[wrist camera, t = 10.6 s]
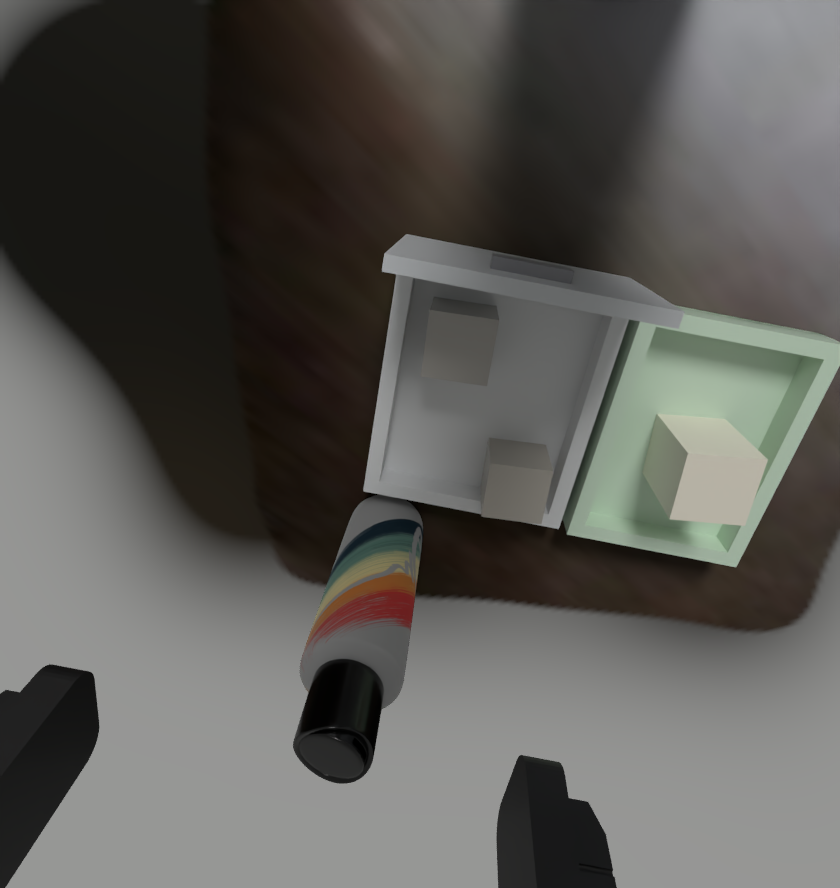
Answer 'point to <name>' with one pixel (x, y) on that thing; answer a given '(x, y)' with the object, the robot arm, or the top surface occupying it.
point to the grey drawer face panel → (529, 279)
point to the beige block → (702, 469)
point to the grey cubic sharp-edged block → (460, 341)
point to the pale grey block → (515, 481)
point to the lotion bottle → (359, 639)
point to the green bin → (700, 395)
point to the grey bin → (487, 398)
